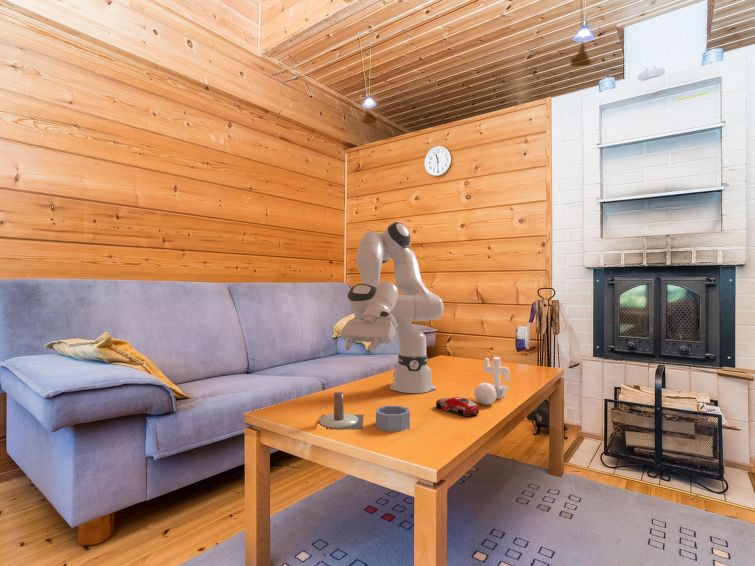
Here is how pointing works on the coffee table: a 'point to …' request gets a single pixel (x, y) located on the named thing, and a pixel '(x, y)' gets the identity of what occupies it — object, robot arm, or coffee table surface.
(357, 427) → the mat
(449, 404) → the race car
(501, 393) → the figurine
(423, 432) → the coffee table surface
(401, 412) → the bowl
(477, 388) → the geometric ball
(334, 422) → the lid
